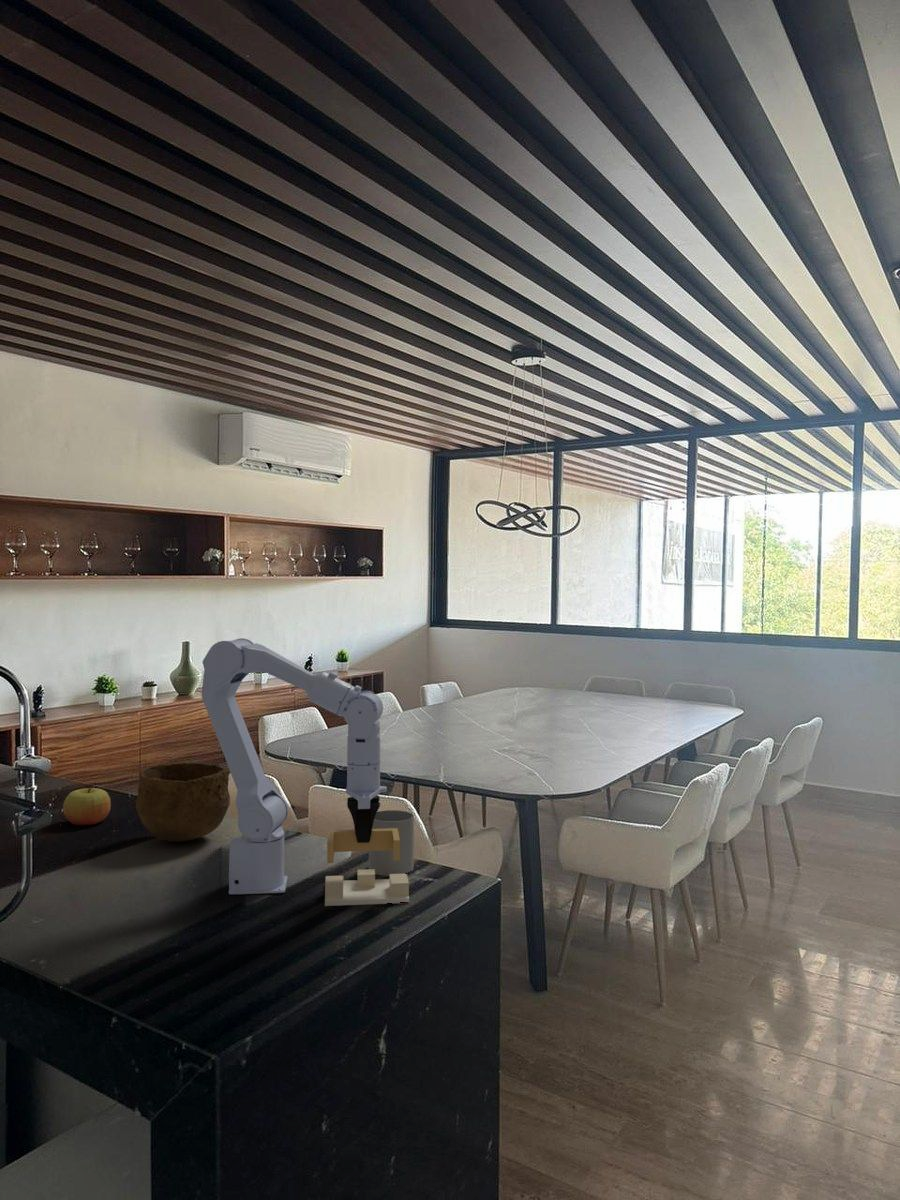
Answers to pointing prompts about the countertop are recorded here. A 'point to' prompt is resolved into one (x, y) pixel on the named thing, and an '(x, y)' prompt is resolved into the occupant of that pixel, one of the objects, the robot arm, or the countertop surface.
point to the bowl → (182, 799)
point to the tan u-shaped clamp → (348, 842)
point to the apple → (87, 806)
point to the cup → (405, 825)
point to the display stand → (366, 889)
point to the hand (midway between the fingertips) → (363, 840)
